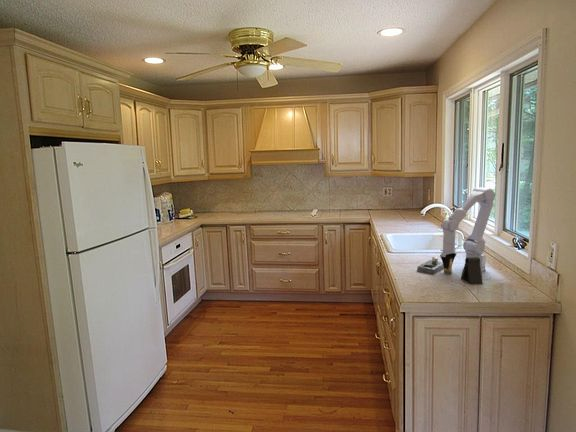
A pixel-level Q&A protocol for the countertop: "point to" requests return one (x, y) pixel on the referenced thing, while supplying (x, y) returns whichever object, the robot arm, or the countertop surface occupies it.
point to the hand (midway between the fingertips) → (447, 267)
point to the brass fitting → (449, 270)
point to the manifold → (431, 266)
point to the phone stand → (472, 271)
